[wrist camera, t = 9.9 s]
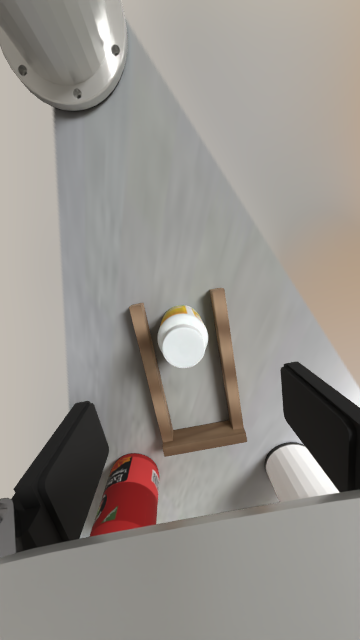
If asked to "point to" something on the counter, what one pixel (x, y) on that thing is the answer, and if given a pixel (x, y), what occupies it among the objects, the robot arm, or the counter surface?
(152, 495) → the canned food
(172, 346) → the supplement bottle
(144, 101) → the counter surface
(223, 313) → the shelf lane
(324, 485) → the mug
